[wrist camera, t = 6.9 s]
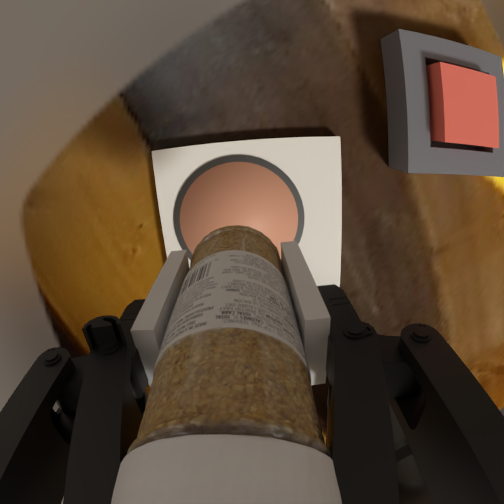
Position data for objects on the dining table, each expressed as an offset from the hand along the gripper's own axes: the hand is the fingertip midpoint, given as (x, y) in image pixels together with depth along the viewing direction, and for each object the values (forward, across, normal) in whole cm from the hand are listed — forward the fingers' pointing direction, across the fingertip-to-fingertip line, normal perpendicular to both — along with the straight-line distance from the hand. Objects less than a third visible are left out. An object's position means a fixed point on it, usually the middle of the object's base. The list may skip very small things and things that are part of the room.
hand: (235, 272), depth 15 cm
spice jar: (+1, 0, 0) cm, 1 cm away
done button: (+9, -18, -9) cm, 22 cm away
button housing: (+11, -18, -9) cm, 23 cm away
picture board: (+11, -1, +3) cm, 11 cm away
